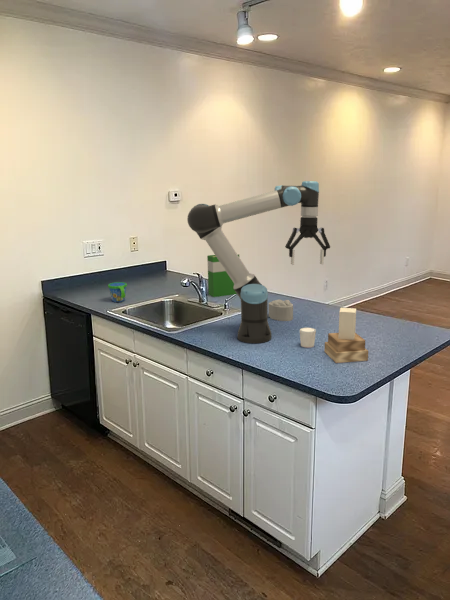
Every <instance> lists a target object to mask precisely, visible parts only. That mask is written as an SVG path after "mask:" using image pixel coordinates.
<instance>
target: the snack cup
mask: <svg viewBox="0 0 450 600" xmlns="http://www.w3.org/2000/svg"><path fill="white" fill-rule="evenodd" d="M107 287H108V289H109V294H110V298H111V301H112V302H114V303H122V302H125V301H126V293H127V292H126V291H127V287H128V284H127V282H124V281H122V282H121V281H120V282H119V281H116V282H111V283H108V285H107Z"/></svg>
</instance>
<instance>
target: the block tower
mask: <svg viewBox="0 0 450 600" xmlns="http://www.w3.org/2000/svg"><path fill="white" fill-rule="evenodd" d="M338 336H339V332H329V333H328V334H327V341H325V342H324V349H323V350H324V353H325V354H326V355H327V356H328V357H329V358H330V359H331V360H332V361H333V362H334V363H335V364H340V363H351V362H352V363H355V362H365V361H366V362H367V361H369V350H368V349H367V348H366V340H365V338H363V337H362V336H361V335H359V334H358V333H357V332H355V338H354V340H349V339H338Z"/></svg>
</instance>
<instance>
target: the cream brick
mask: <svg viewBox="0 0 450 600" xmlns="http://www.w3.org/2000/svg"><path fill="white" fill-rule="evenodd" d="M338 313H339V314H338V333H339V336H338V339H349V340H354V338H355V333H356V326H357V325H356V324H357V323H356V321H357V320H356V319H357V308H353V307H340V308H339V312H338Z"/></svg>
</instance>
